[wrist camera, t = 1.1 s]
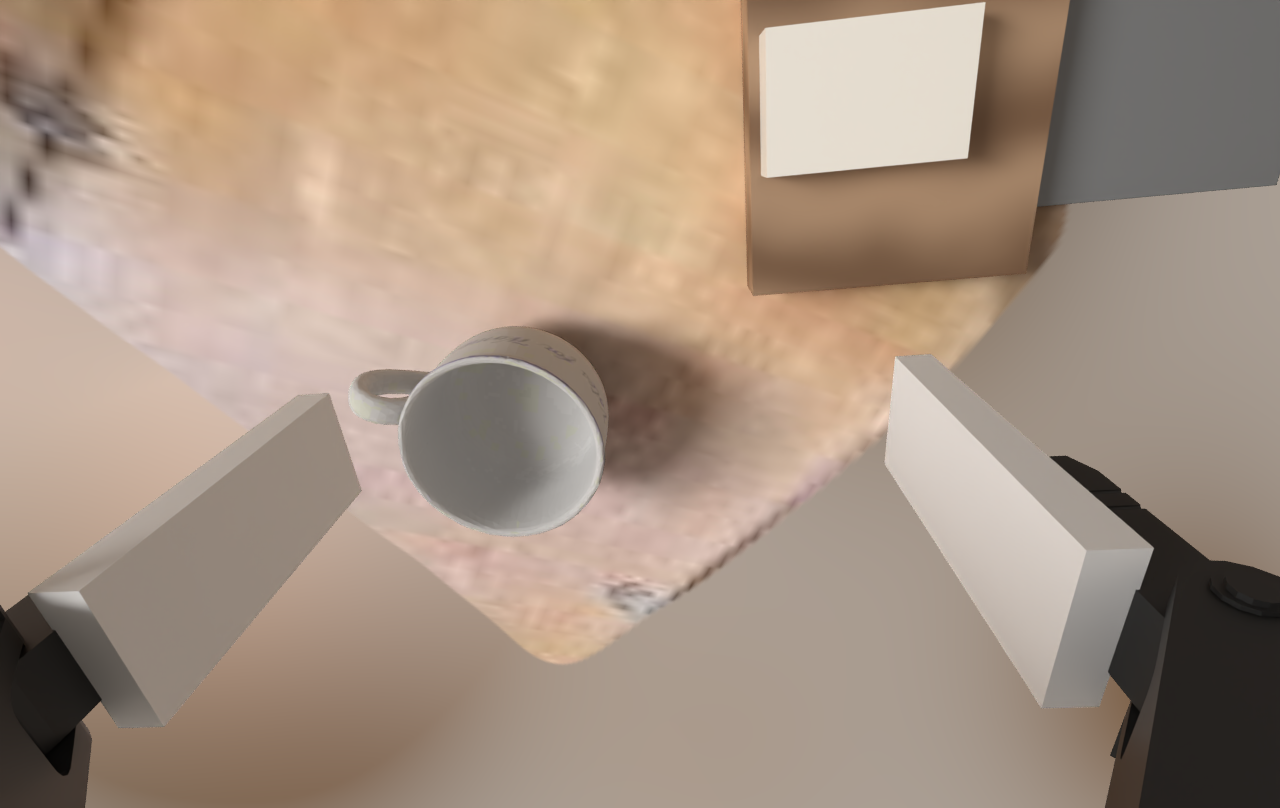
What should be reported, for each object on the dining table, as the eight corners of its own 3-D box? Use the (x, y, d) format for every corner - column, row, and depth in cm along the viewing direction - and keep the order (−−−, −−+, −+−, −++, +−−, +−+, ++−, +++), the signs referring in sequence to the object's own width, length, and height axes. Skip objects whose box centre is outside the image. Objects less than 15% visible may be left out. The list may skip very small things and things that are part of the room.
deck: (739, -53, 28) (746, -71, 26) (1052, -93, 27) (1088, -116, 24) (747, 285, 34) (753, 295, 32) (1001, 264, 33) (1026, 273, 31)
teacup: (647, 367, 36) (642, 422, 29) (569, 496, 40) (546, 573, 33) (438, 252, 34) (375, 281, 27) (376, 400, 38) (307, 461, 31)
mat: (1080, -124, 26) (1084, -127, 26) (1377, -164, 25) (1384, -167, 25) (1028, 206, 32) (1032, 207, 32) (1270, 184, 31) (1276, 184, 31)
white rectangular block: (759, 36, 27) (765, 27, 25) (963, 12, 26) (985, 2, 25) (761, 175, 29) (766, 177, 28) (948, 157, 29) (967, 158, 27)
